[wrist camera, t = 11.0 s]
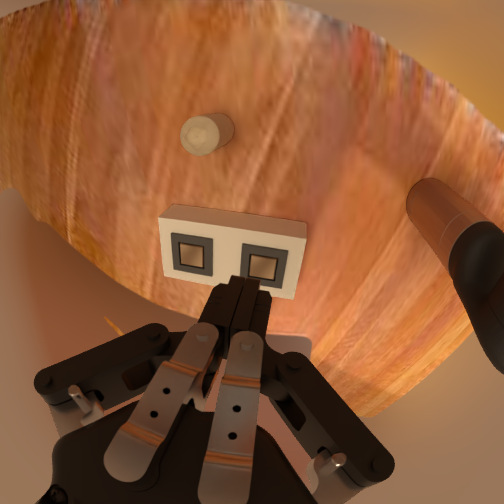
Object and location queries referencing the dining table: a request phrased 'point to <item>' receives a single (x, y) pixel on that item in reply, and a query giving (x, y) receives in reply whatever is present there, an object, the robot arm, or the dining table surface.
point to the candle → (206, 133)
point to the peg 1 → (192, 254)
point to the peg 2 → (262, 266)
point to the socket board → (232, 246)
